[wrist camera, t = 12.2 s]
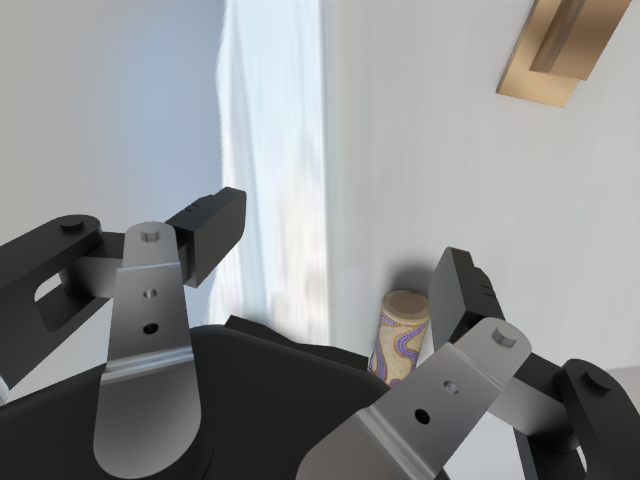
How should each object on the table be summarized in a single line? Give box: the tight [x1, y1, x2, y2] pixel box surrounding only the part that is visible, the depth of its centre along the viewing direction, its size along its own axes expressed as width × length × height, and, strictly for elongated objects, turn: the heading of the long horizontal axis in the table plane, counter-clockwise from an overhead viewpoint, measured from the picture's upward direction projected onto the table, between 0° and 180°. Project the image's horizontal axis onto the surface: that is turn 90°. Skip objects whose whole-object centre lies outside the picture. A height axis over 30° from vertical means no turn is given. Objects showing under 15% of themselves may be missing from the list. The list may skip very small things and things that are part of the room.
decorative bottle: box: [368, 290, 430, 388], centre depth 53 cm, size 26×8×7 cm, turn 177°
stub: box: [496, 0, 632, 108], centre depth 28 cm, size 12×7×7 cm, turn 170°
